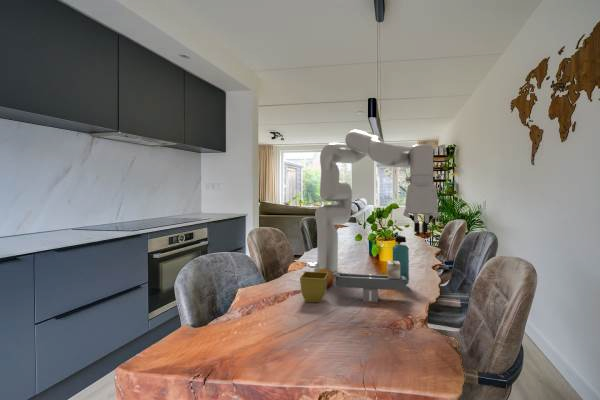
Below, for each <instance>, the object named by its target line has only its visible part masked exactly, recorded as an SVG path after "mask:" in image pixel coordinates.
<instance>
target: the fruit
mask: <svg viewBox="0 0 600 400" xmlns="http://www.w3.org/2000/svg"><path fill="white" fill-rule="evenodd" d="M316 272H325V273H328V282H327V288H331V287H332V286H333V283H334V279H335V278H334V277H335V275H333V273H332V272H331V271H330V270H328V269H319V270H317V271H316Z"/></svg>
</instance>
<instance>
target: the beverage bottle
mask: <svg viewBox="0 0 600 400" xmlns="http://www.w3.org/2000/svg"><path fill="white" fill-rule="evenodd" d="M394 239H395V240H394V242H395V243H398V244H395V245H393V246H392V261H399V263H400V276H405V278H406V286H407V285H409V283H410V281H409V280H410V273H409V272H410V267H409V266H410V265H409V264H410V263H409V261H410V259H409V256H410V255H409V252H410V251H409V249H410V248H409V247H408V245H406V244H401V243H406V242H407V238H406V236H399V235H397V236H395V238H394ZM399 243H400V244H399Z"/></svg>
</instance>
